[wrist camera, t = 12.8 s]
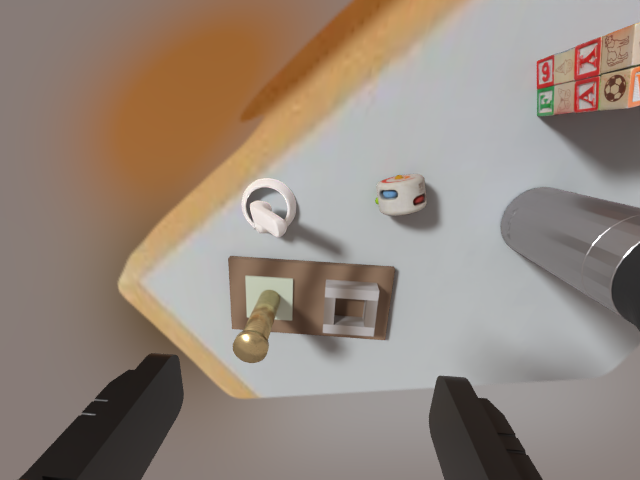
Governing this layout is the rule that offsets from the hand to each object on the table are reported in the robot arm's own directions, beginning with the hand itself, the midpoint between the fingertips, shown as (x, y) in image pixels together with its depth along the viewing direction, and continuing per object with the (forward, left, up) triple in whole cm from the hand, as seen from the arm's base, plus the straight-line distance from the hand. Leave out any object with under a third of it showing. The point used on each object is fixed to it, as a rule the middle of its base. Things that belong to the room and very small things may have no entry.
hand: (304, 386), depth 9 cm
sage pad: (+8, +16, -32) cm, 37 cm away
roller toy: (-9, -1, -33) cm, 34 cm away
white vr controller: (+8, +2, -33) cm, 34 cm away
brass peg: (+8, +16, -32) cm, 36 cm away
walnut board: (+2, +16, -33) cm, 37 cm away
